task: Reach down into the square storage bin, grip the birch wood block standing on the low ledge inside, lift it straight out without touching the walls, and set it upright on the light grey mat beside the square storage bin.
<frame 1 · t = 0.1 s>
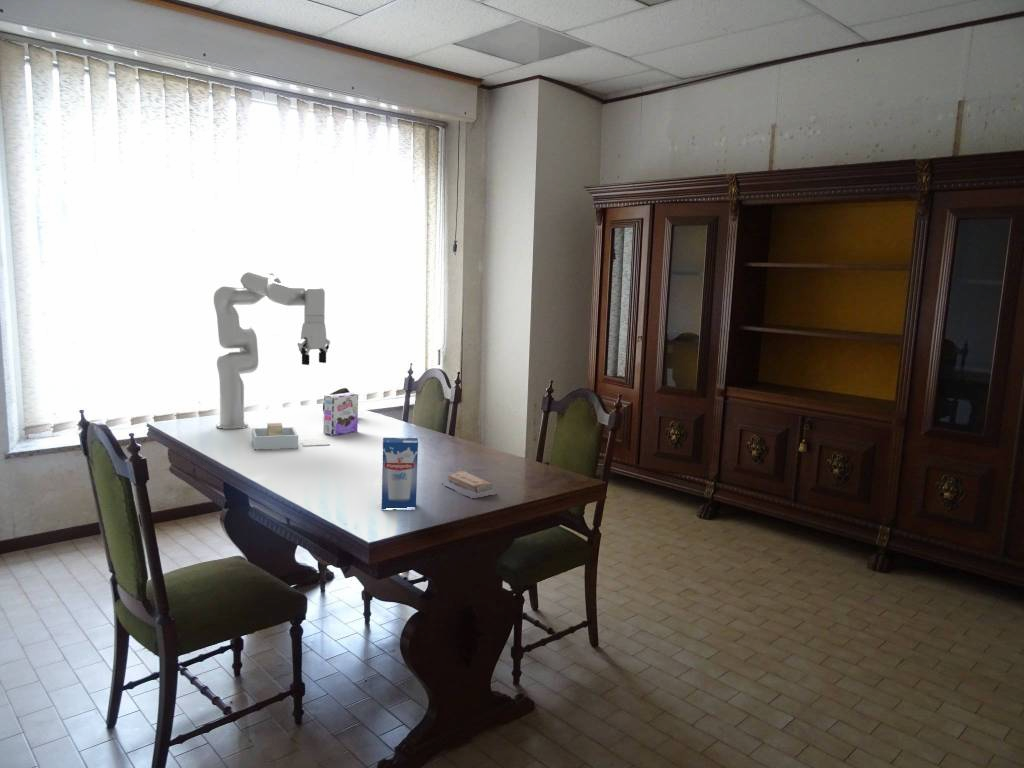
hand: (314, 363, 288), 31 cm above the table, tool pointing down, fingers open, 9 cm apart
squash: (339, 418, 341), on the table
packaged product: (468, 491, 236), on the table
mat: (314, 443, 290), on the table
milk carton: (398, 507, 215), on the table
square storage bin: (274, 444, 284), on the table
birch block: (274, 439, 284), point 2 cm above the table, touching square storage bin
candy box: (340, 433, 310), on the table
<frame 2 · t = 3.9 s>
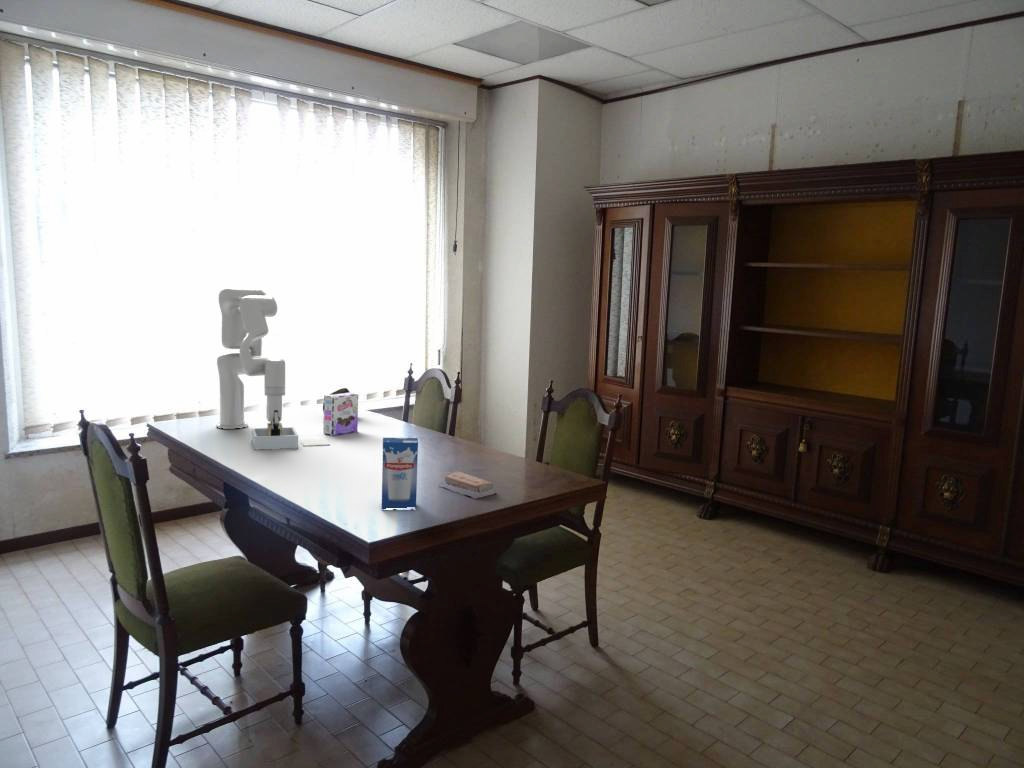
hand: (274, 437, 284), 3 cm above the table, tool pointing down, fingers closed on birch block, 4 cm apart
birch block: (274, 439, 284), point 2 cm above the table, touching gripper, square storage bin
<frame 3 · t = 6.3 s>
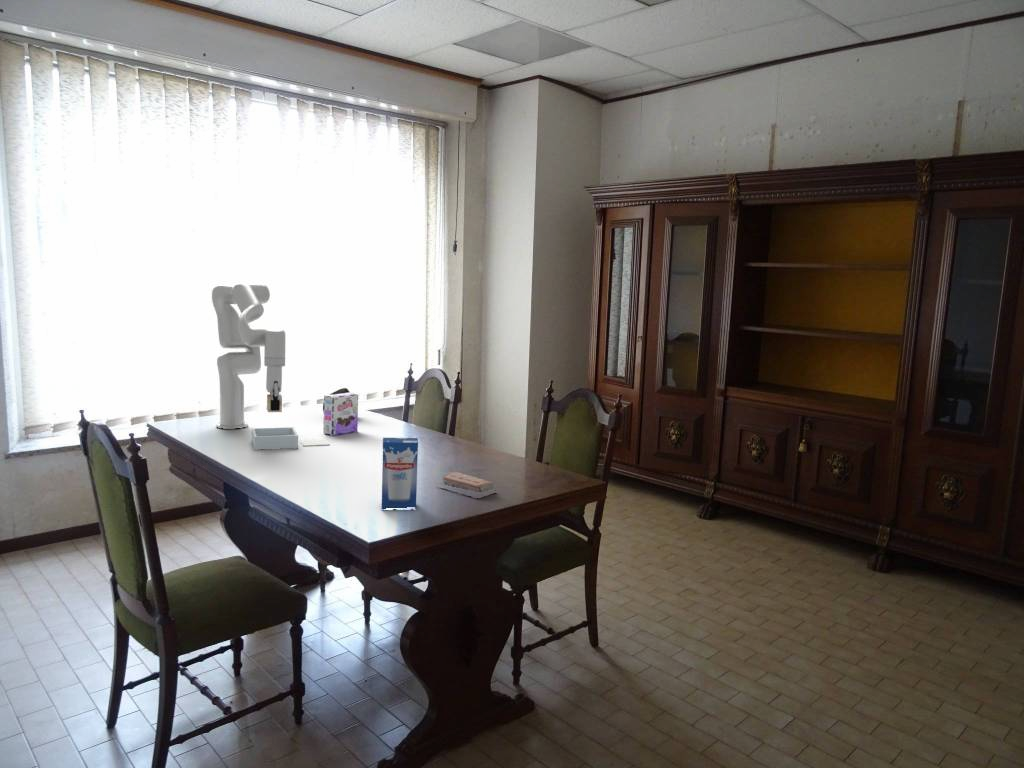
hand: (274, 408, 282), 14 cm above the table, tool pointing down, fingers closed on birch block, 4 cm apart
birch block: (274, 410, 282), point 13 cm above the table, touching gripper
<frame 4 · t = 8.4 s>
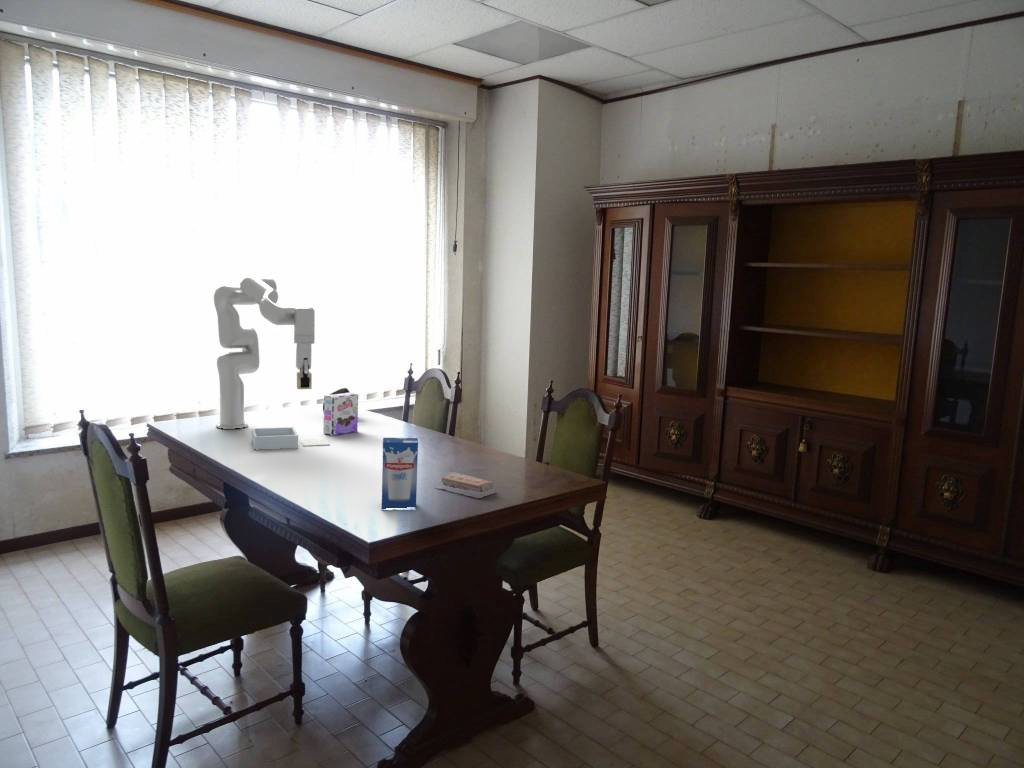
hand: (304, 385, 285), 23 cm above the table, tool pointing down, fingers closed on birch block, 4 cm apart
birch block: (304, 388, 285), point 22 cm above the table, touching gripper
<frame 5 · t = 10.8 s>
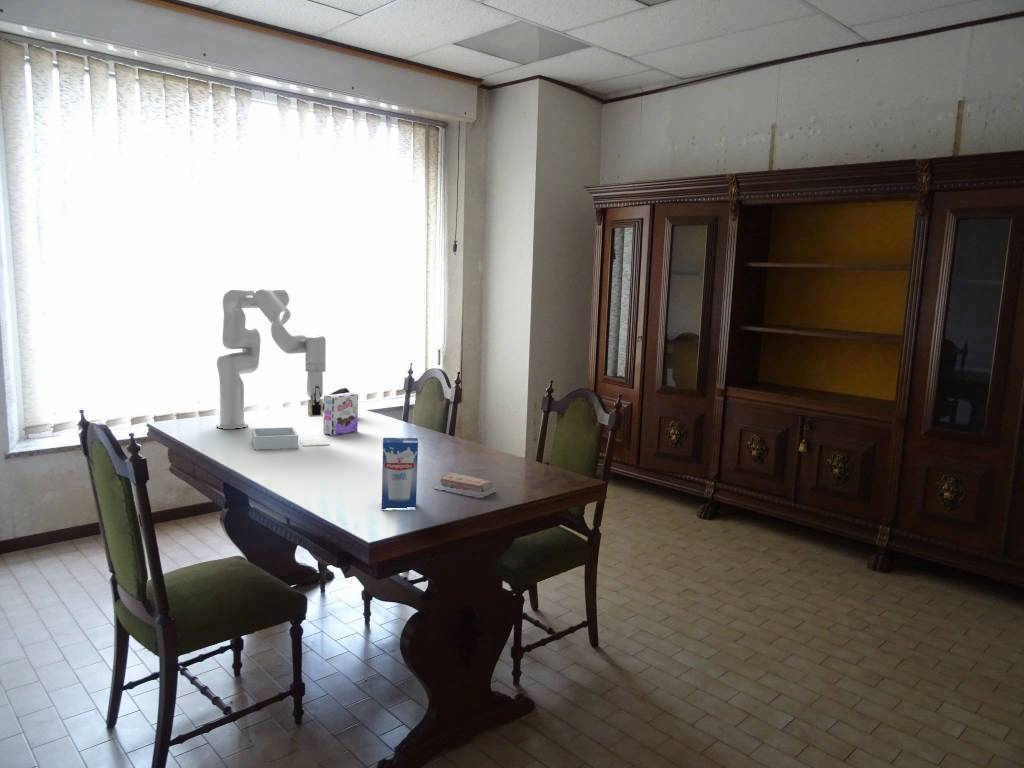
hand: (315, 413, 288), 12 cm above the table, tool pointing down, fingers closed on birch block, 4 cm apart
birch block: (315, 415, 288), point 11 cm above the table, touching gripper
when the fingers open (3 cm above the table, at t = 12.9 s): birch block drops 2 cm, resting on mat.
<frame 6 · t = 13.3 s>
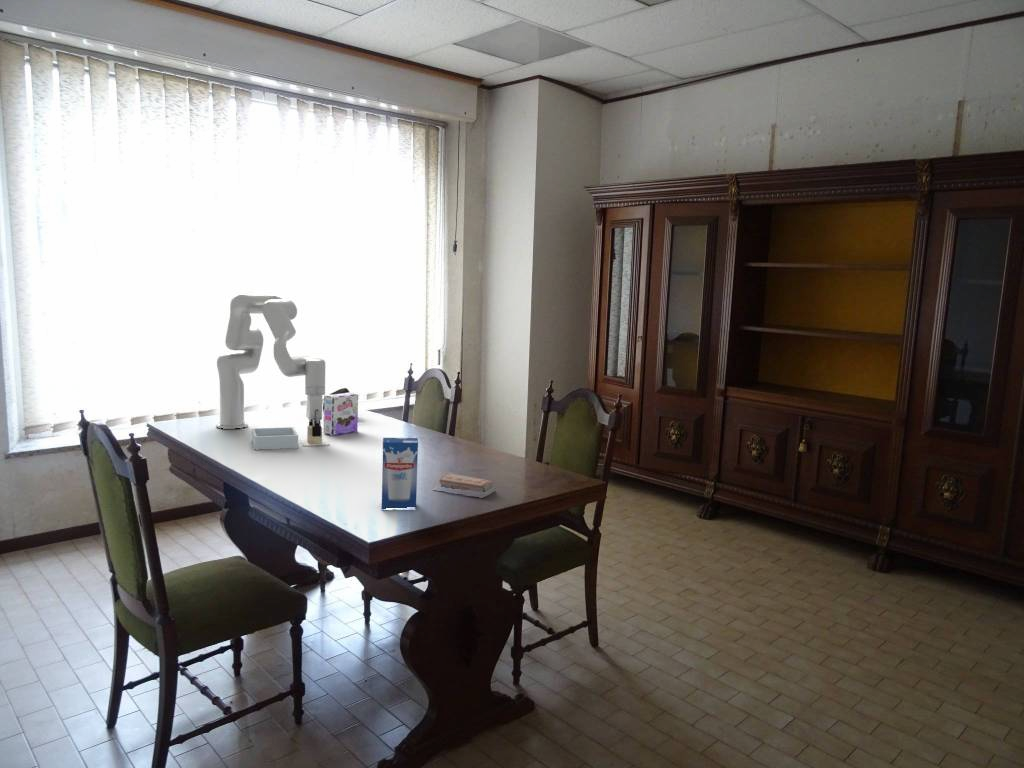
hand: (314, 433, 289), 4 cm above the table, tool pointing down, fingers open, 9 cm apart
birch block: (314, 441, 290), resting on mat
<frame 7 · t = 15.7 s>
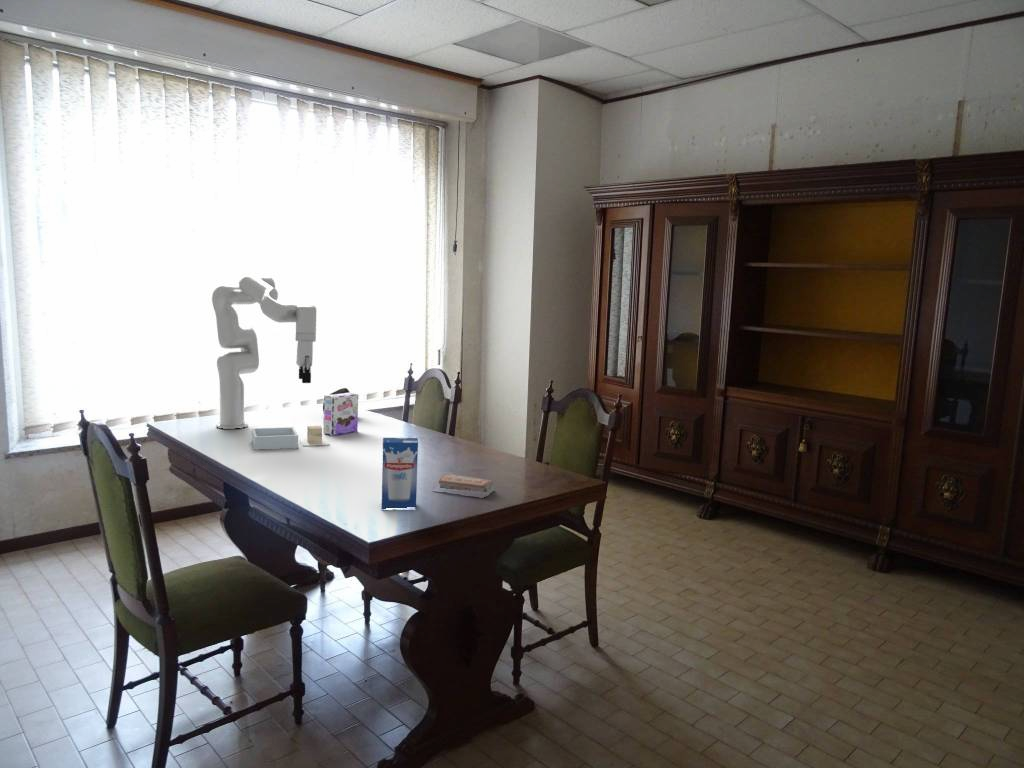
hand: (304, 380, 287), 24 cm above the table, tool pointing down, fingers open, 9 cm apart
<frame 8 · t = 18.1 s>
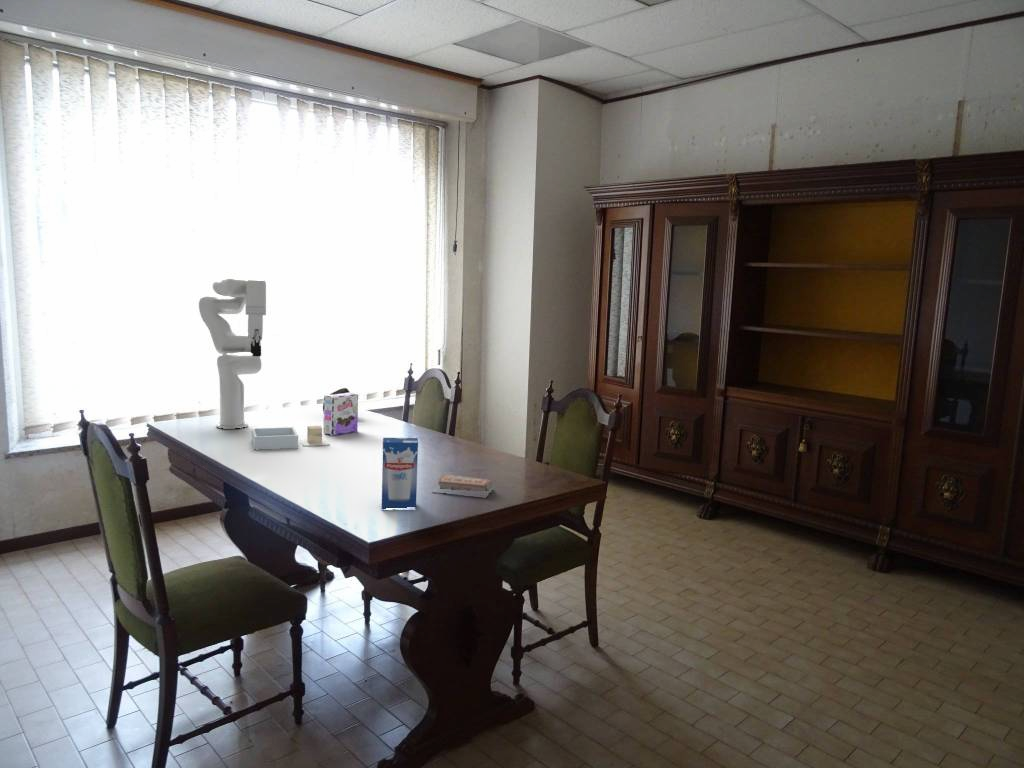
hand: (255, 354, 289), 33 cm above the table, tool pointing down, fingers open, 9 cm apart
at the end: birch block inside the target area on the mat (0.0 cm from its centre), point 0.4 cm above the mat's base; birch block tilted 0°; the gripper is holding nothing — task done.
